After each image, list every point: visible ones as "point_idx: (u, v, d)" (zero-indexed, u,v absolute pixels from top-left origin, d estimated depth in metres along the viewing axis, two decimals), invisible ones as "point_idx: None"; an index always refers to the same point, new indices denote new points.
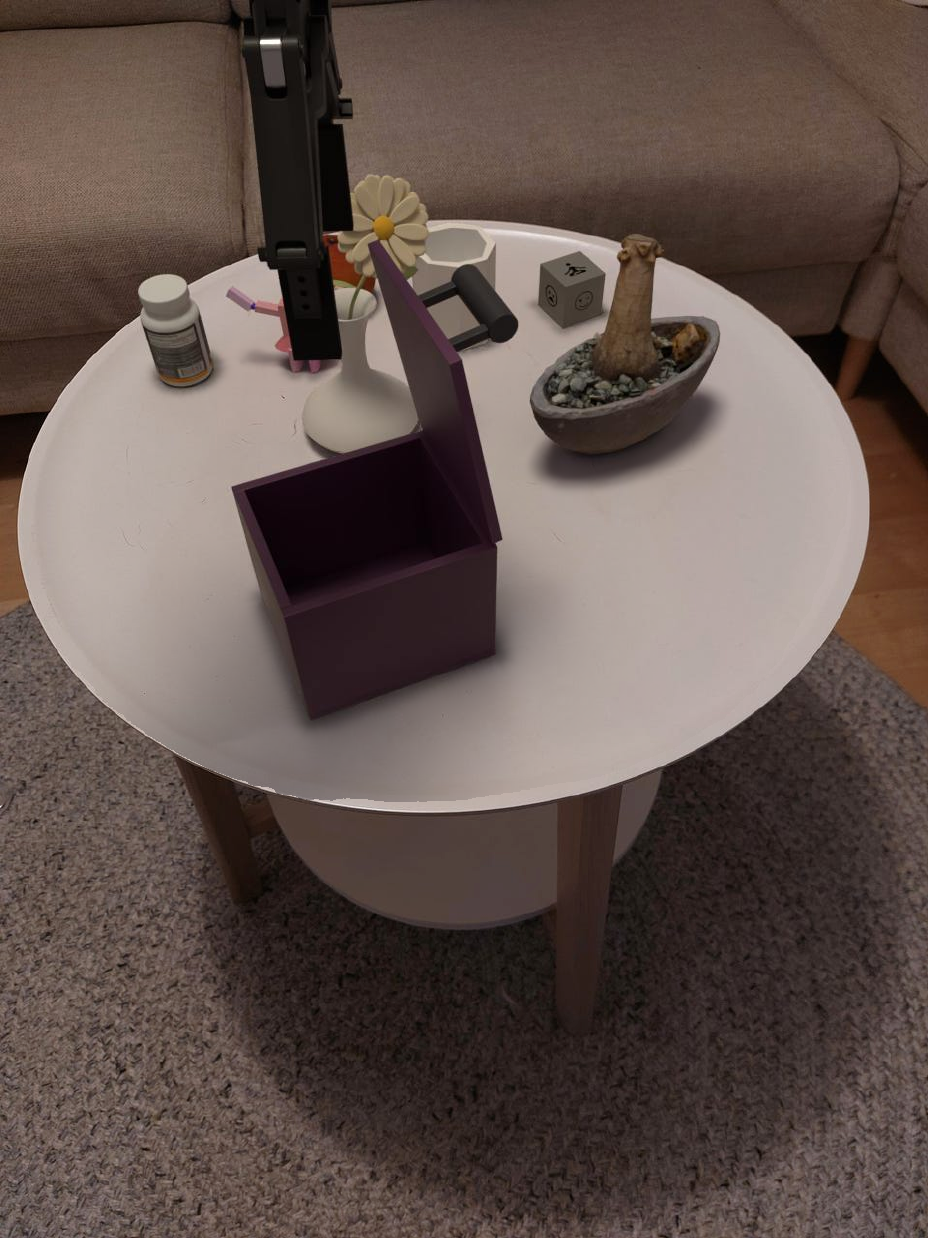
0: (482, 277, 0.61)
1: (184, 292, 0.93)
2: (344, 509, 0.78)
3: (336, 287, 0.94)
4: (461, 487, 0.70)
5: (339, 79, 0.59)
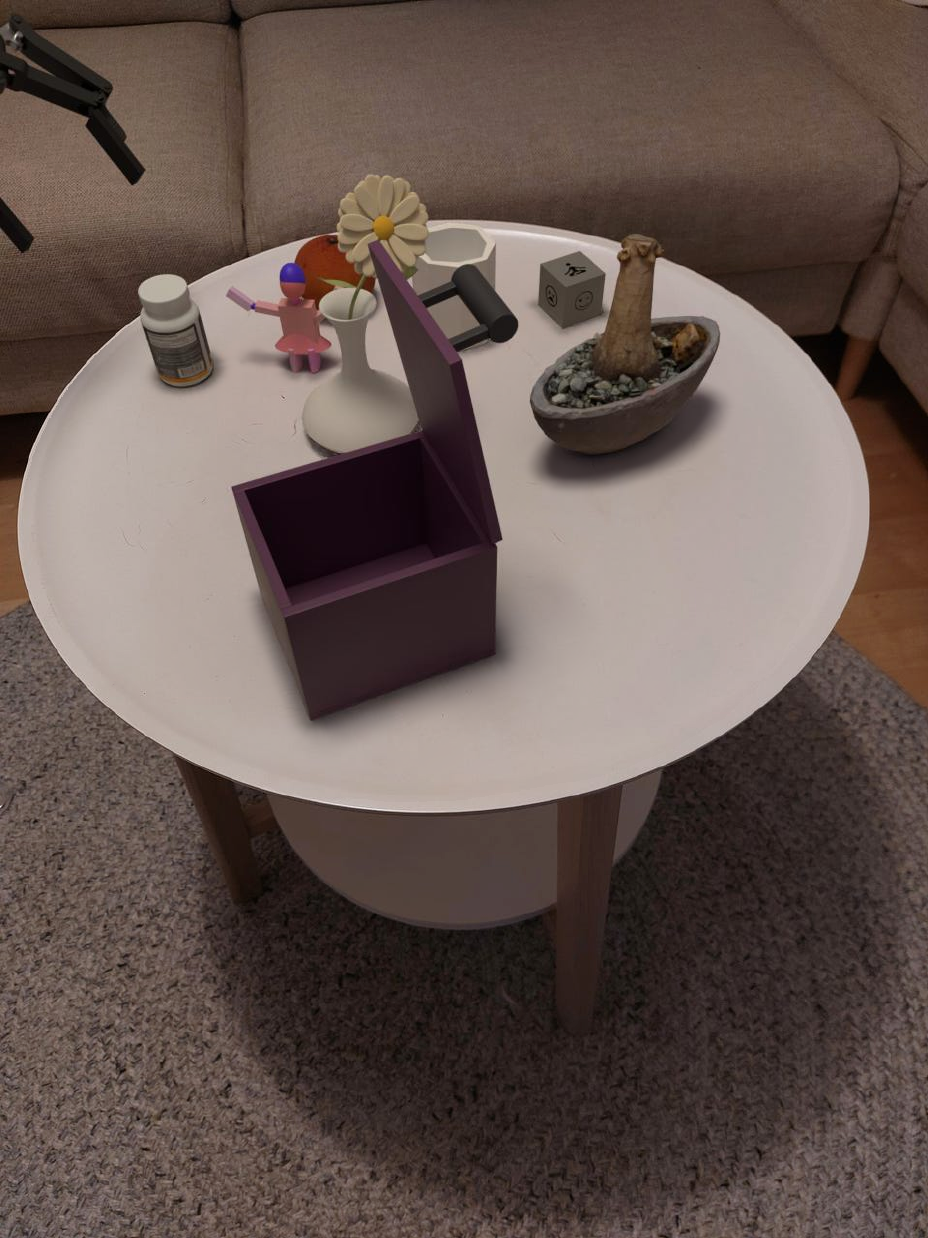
0: (482, 277, 0.61)
1: (184, 292, 0.93)
2: (344, 509, 0.78)
3: (336, 287, 0.94)
4: (461, 487, 0.70)
5: None
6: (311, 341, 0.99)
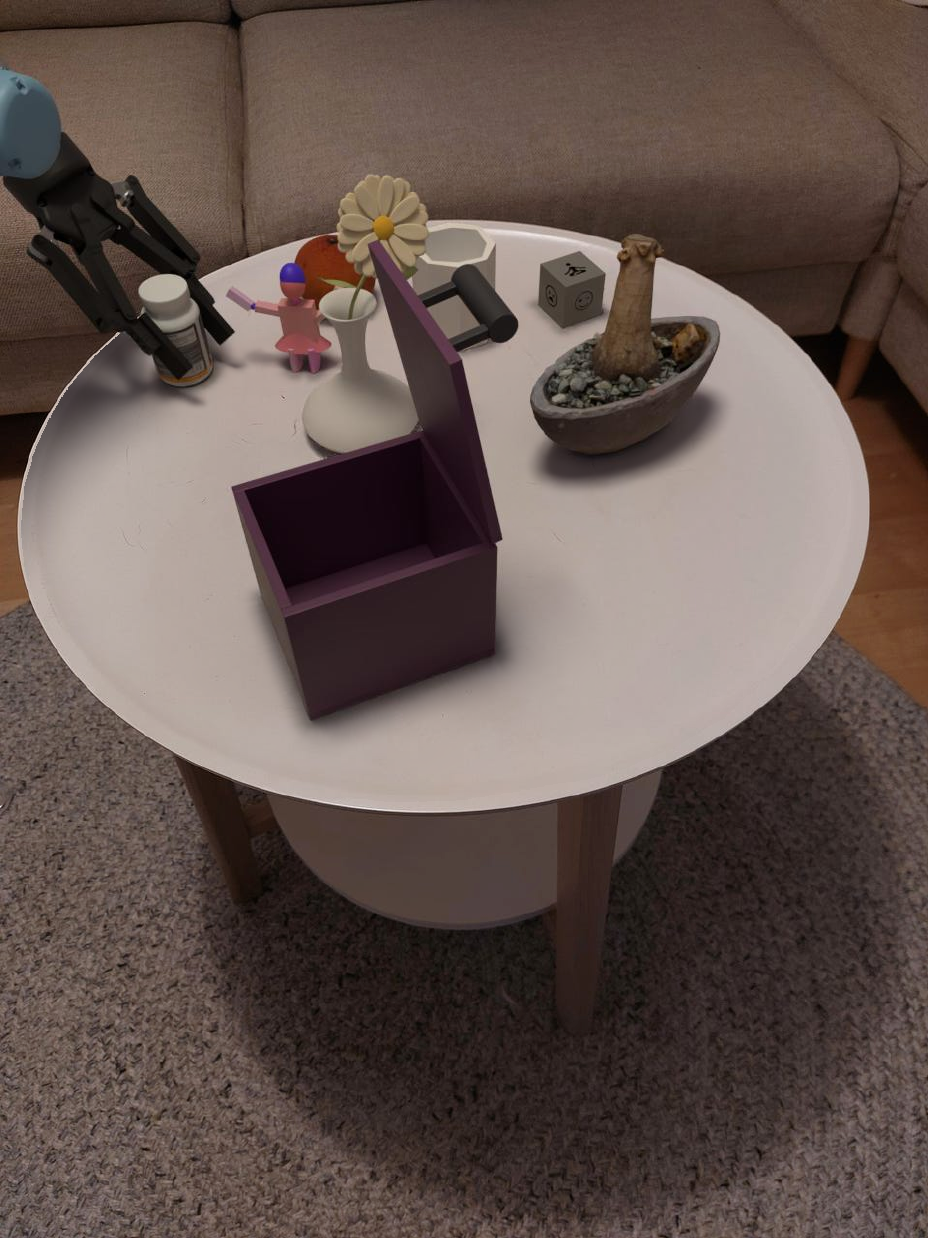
0: (482, 277, 0.61)
1: (184, 291, 0.93)
2: (344, 509, 0.78)
3: (336, 287, 0.94)
4: (461, 487, 0.70)
5: None
6: (311, 341, 0.99)
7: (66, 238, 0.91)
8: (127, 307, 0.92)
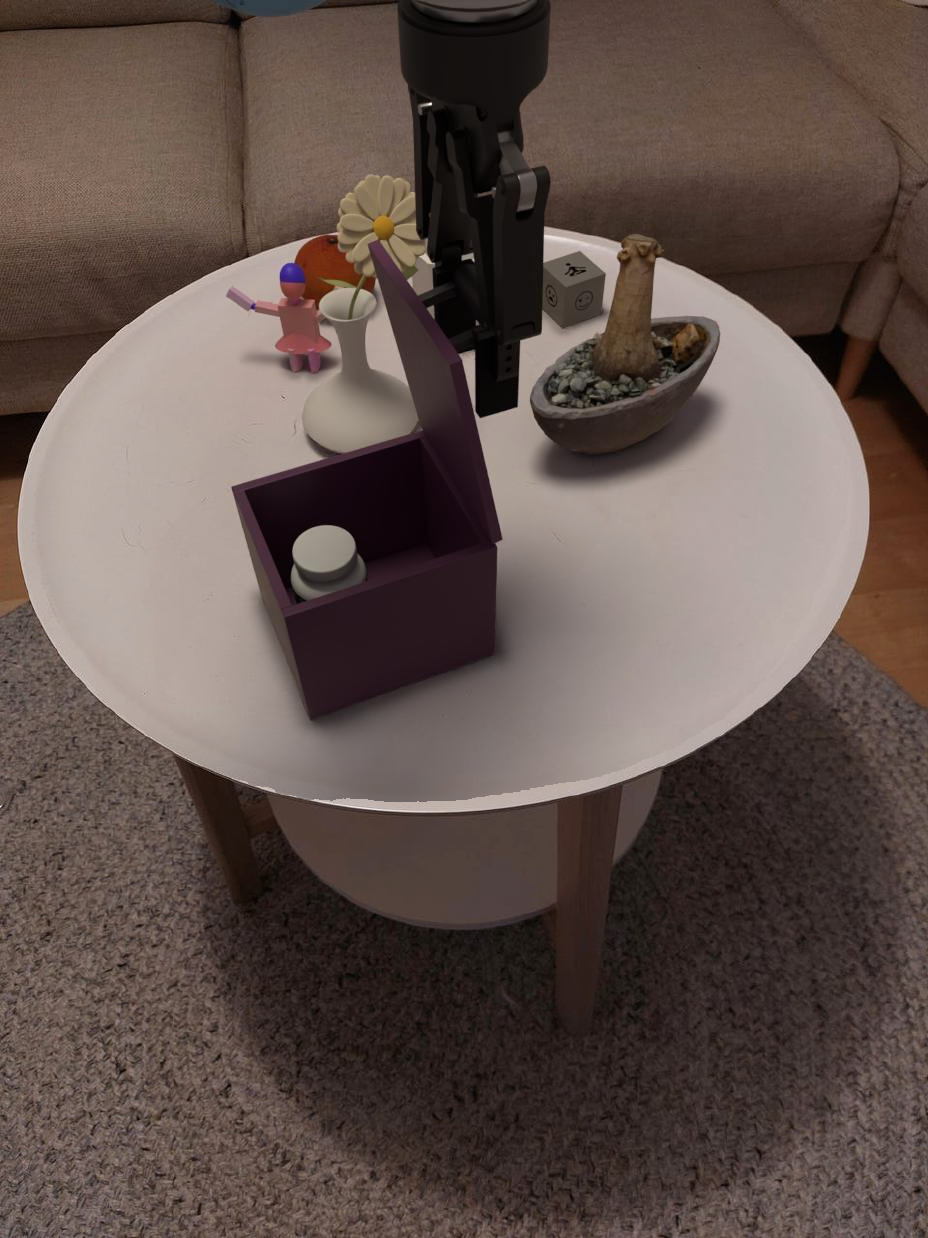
0: None
1: (353, 555, 0.71)
2: (344, 509, 0.78)
3: (336, 287, 0.94)
4: (461, 487, 0.70)
5: (498, 328, 0.55)
6: (311, 341, 0.99)
7: None
8: None
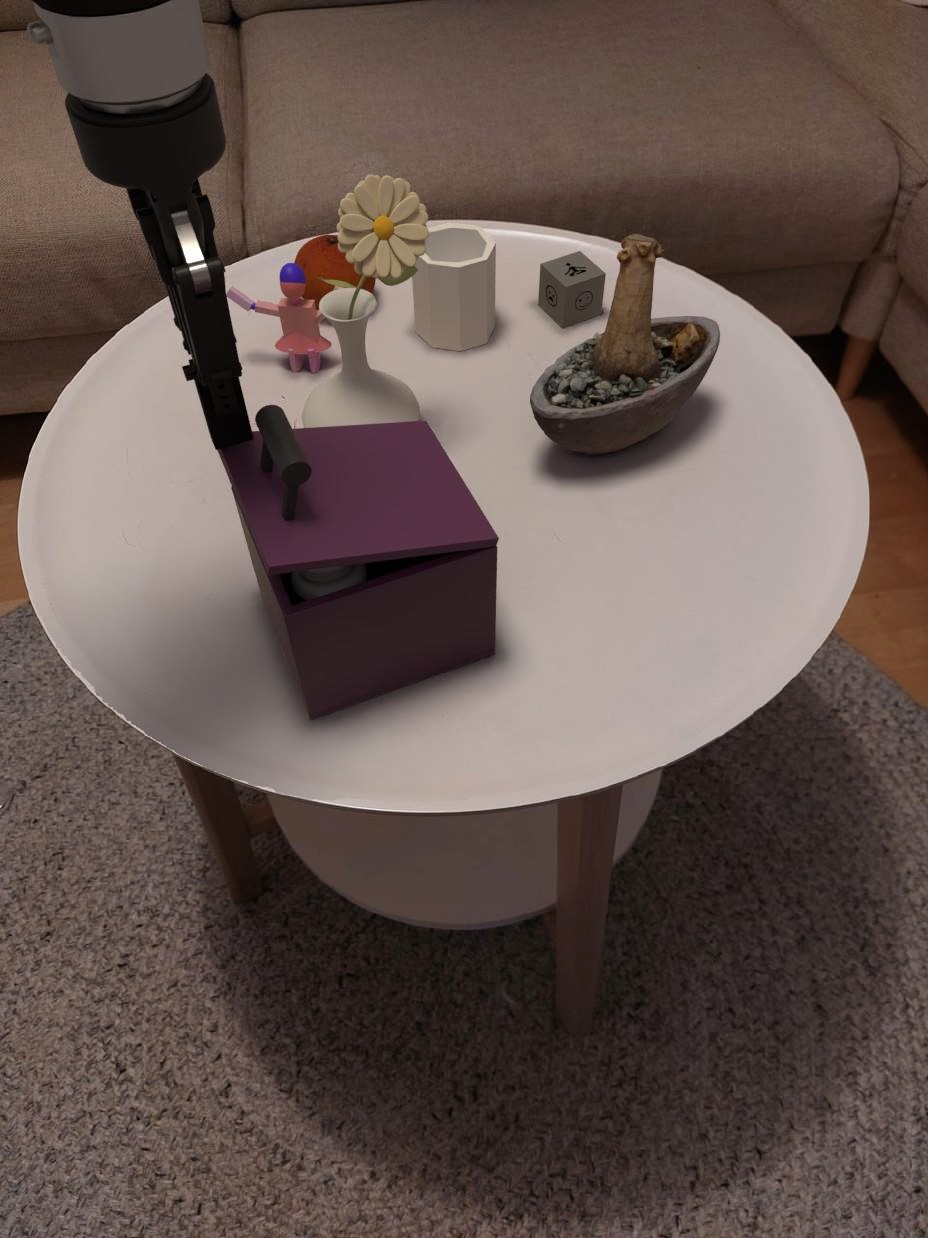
0: (266, 424, 0.63)
1: None
2: None
3: (336, 287, 0.94)
4: None
5: (198, 372, 0.59)
6: (311, 341, 0.99)
7: None
8: None
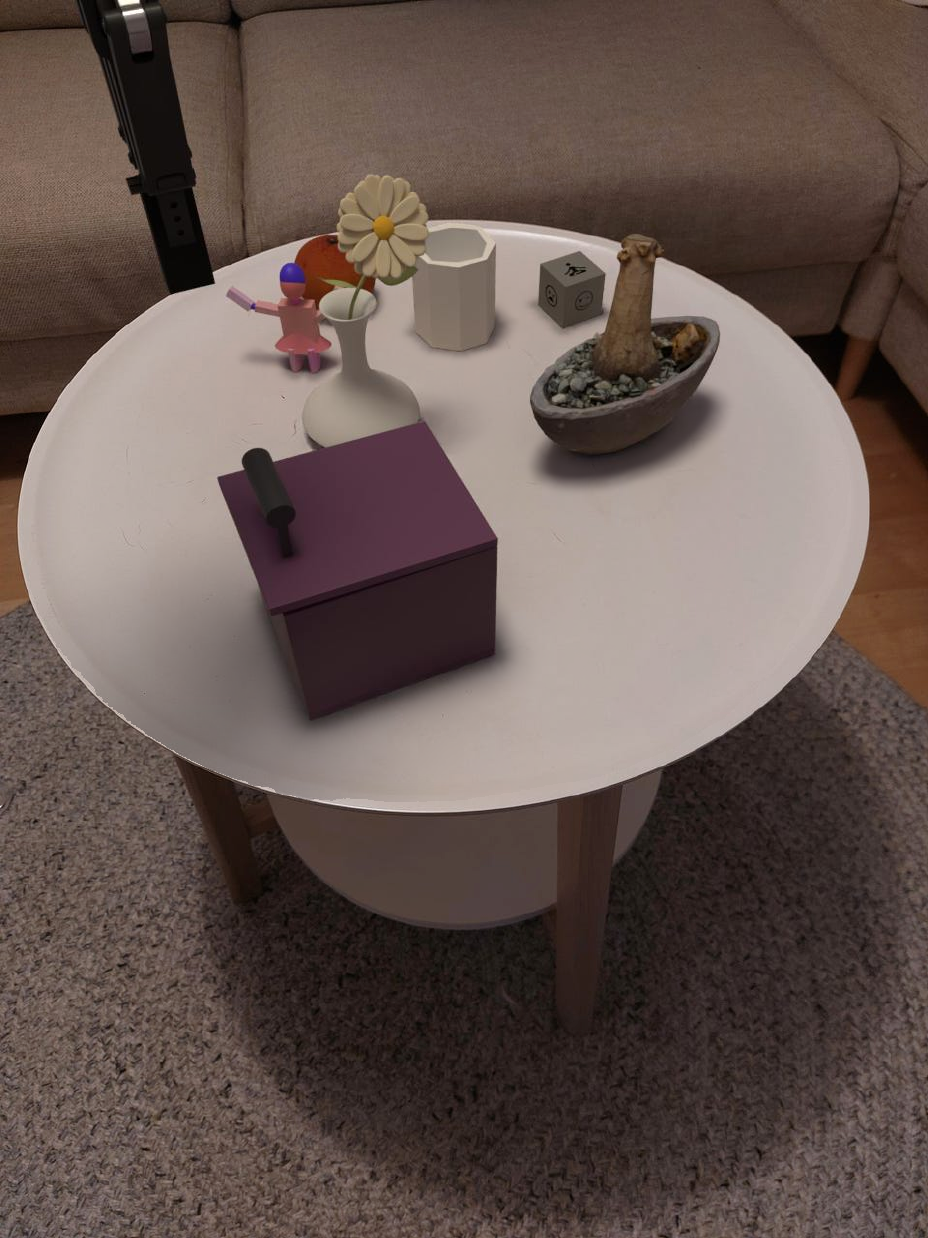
0: (250, 469, 0.65)
1: None
2: None
3: (336, 287, 0.94)
4: None
5: (143, 177, 0.50)
6: (311, 341, 0.99)
7: None
8: None
